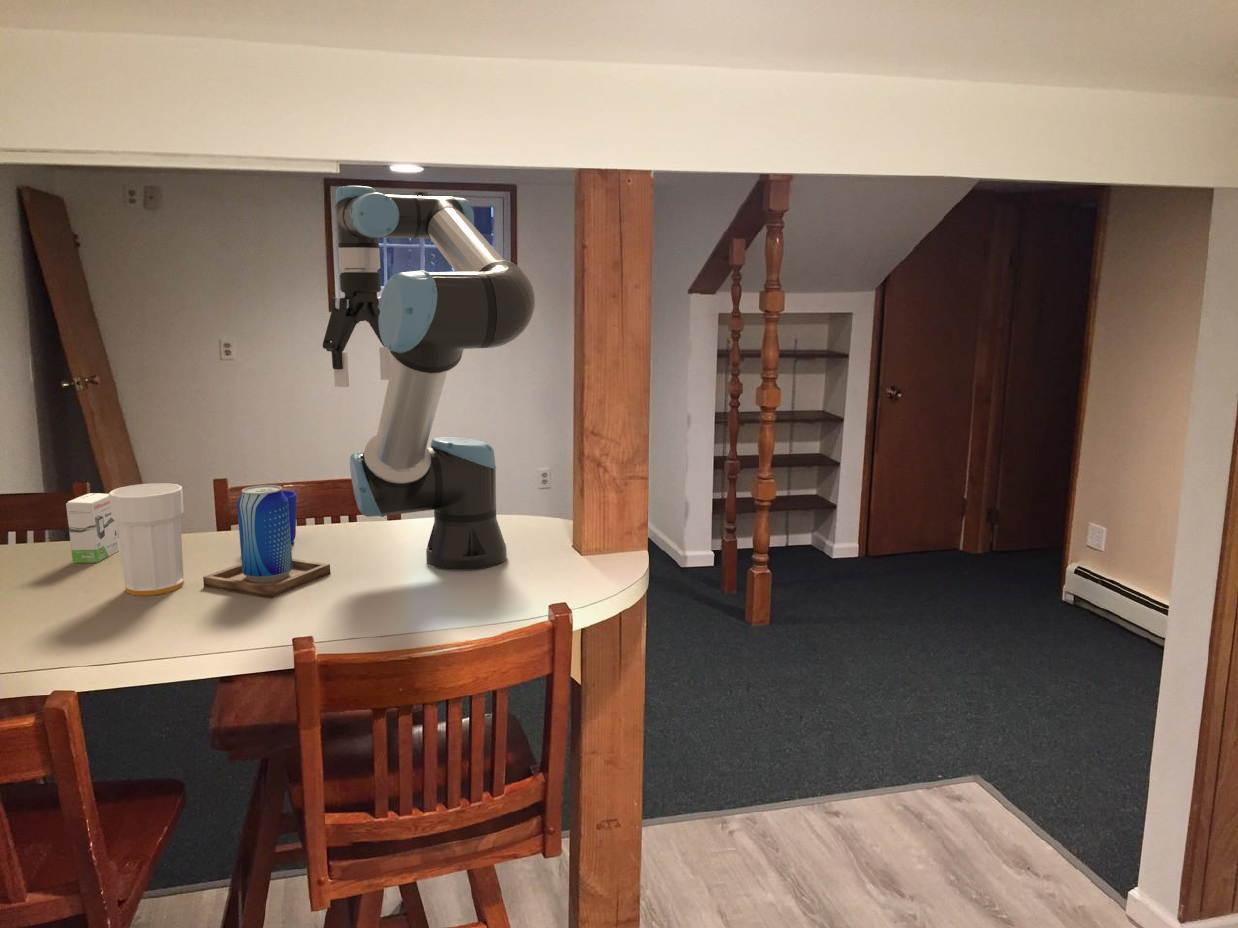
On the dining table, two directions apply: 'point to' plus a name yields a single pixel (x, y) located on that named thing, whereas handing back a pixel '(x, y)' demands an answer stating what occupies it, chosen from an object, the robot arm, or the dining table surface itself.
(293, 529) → the mug
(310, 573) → the tray
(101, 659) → the dining table surface
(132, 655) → the dining table surface
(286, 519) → the beer can
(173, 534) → the cup
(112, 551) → the ink box
